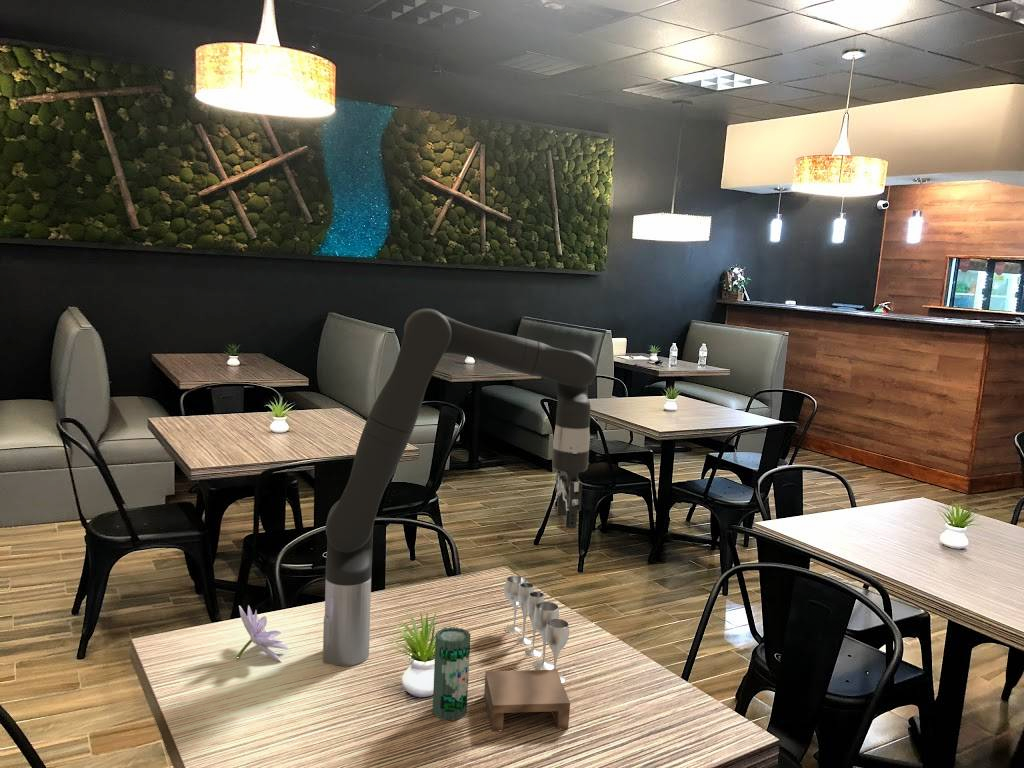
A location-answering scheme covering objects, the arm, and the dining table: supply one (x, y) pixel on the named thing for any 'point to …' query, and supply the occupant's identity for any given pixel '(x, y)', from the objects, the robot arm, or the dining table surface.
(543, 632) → the goblet set
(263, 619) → the water lily
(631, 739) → the dining table surface
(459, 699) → the can
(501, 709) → the walnut shelf
